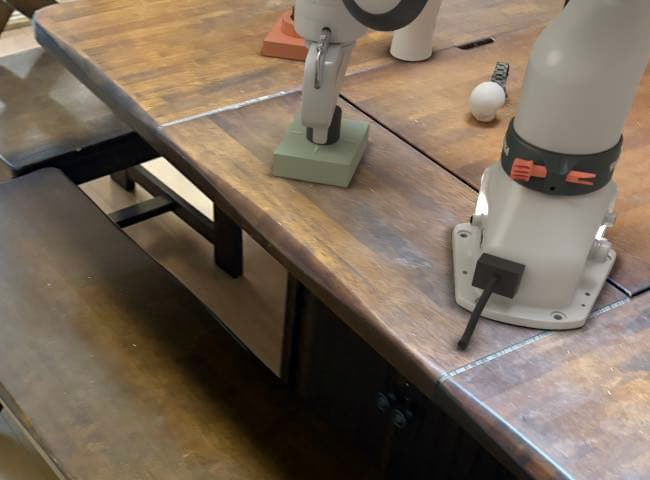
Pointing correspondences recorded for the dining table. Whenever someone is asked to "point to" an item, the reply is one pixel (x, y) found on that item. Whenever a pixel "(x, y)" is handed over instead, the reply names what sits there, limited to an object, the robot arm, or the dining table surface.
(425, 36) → the cup
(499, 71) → the wristwatch
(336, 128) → the dial
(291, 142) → the panel
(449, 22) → the dining table surface
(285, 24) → the button base
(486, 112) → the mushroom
